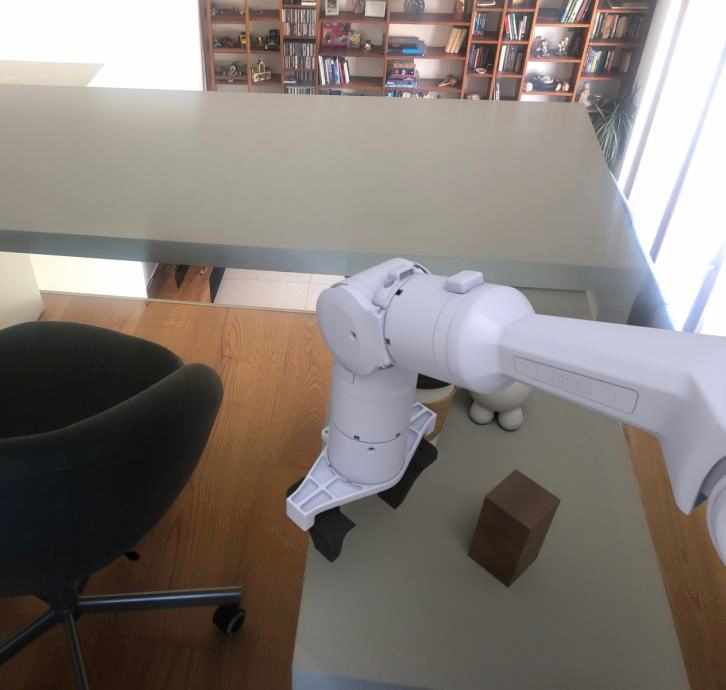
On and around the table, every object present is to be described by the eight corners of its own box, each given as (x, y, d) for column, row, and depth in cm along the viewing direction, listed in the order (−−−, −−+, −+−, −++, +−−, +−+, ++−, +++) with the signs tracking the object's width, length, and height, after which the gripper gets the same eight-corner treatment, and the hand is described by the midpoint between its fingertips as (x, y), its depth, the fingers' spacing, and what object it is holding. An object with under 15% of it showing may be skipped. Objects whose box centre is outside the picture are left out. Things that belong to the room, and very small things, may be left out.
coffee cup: (361, 464, 73) (372, 359, 64) (375, 409, 79) (387, 305, 70) (441, 482, 71) (466, 376, 62) (450, 424, 77) (473, 319, 68)
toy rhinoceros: (425, 372, 84) (435, 317, 78) (528, 397, 80) (546, 341, 75) (412, 413, 79) (421, 357, 73) (521, 441, 75) (539, 384, 70)
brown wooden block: (536, 558, 64) (561, 499, 59) (508, 587, 62) (530, 529, 56) (495, 527, 67) (515, 468, 61) (467, 554, 65) (484, 495, 59)
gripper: (394, 342, 55) (380, 454, 64) (256, 433, 48) (261, 545, 57) (467, 387, 51) (441, 500, 60) (328, 495, 44) (321, 604, 53)
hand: (358, 525), depth 58 cm, fingers open, 7 cm apart
